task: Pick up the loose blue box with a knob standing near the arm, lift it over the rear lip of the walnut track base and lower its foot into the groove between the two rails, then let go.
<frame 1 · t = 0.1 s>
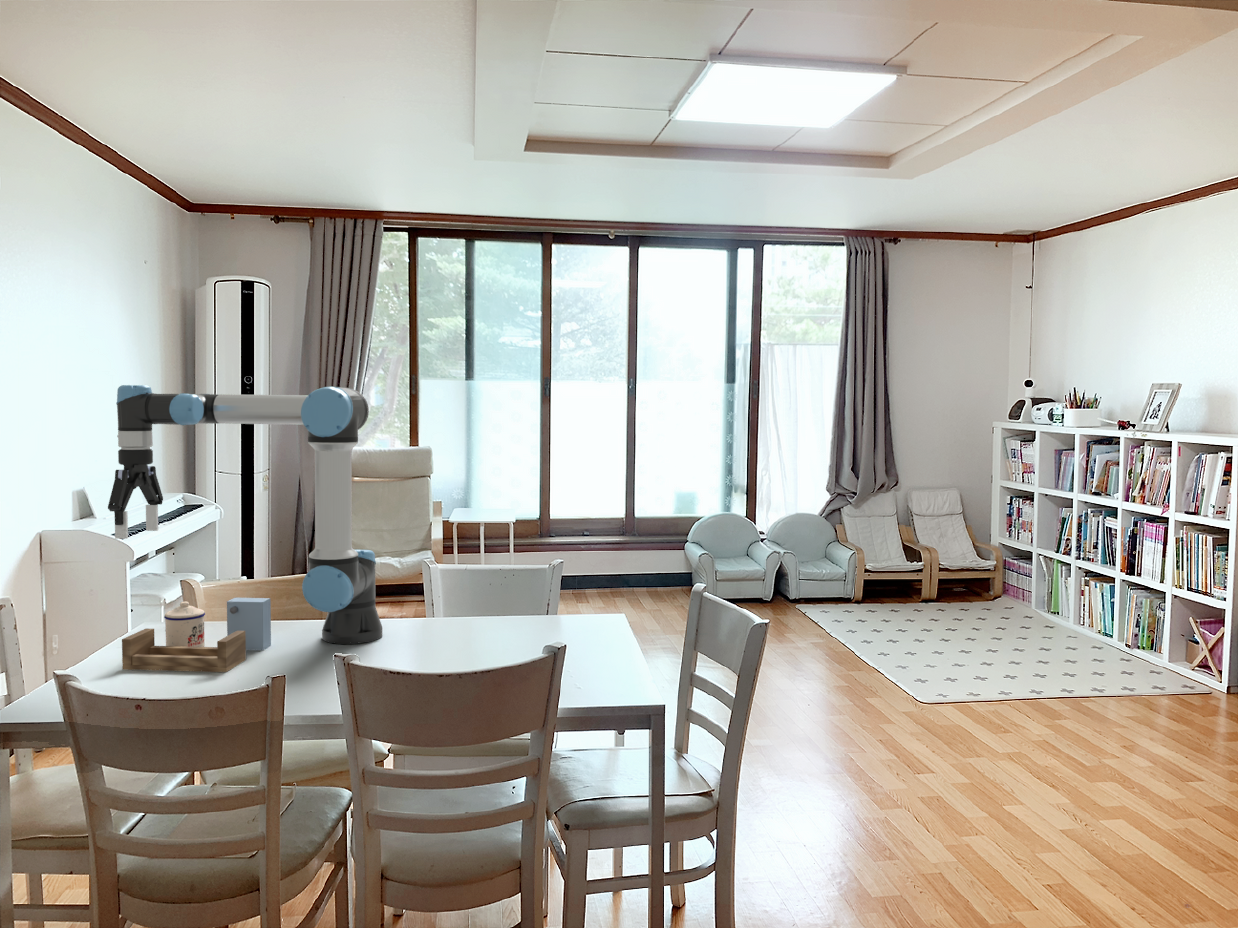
hand: (137, 534, 230), 28 cm above the table, fingers open, 13 cm apart
track: (185, 664, 216), on the table
blue box with knob: (249, 647, 232), on the table
teacup with lid: (188, 648, 231), on the table
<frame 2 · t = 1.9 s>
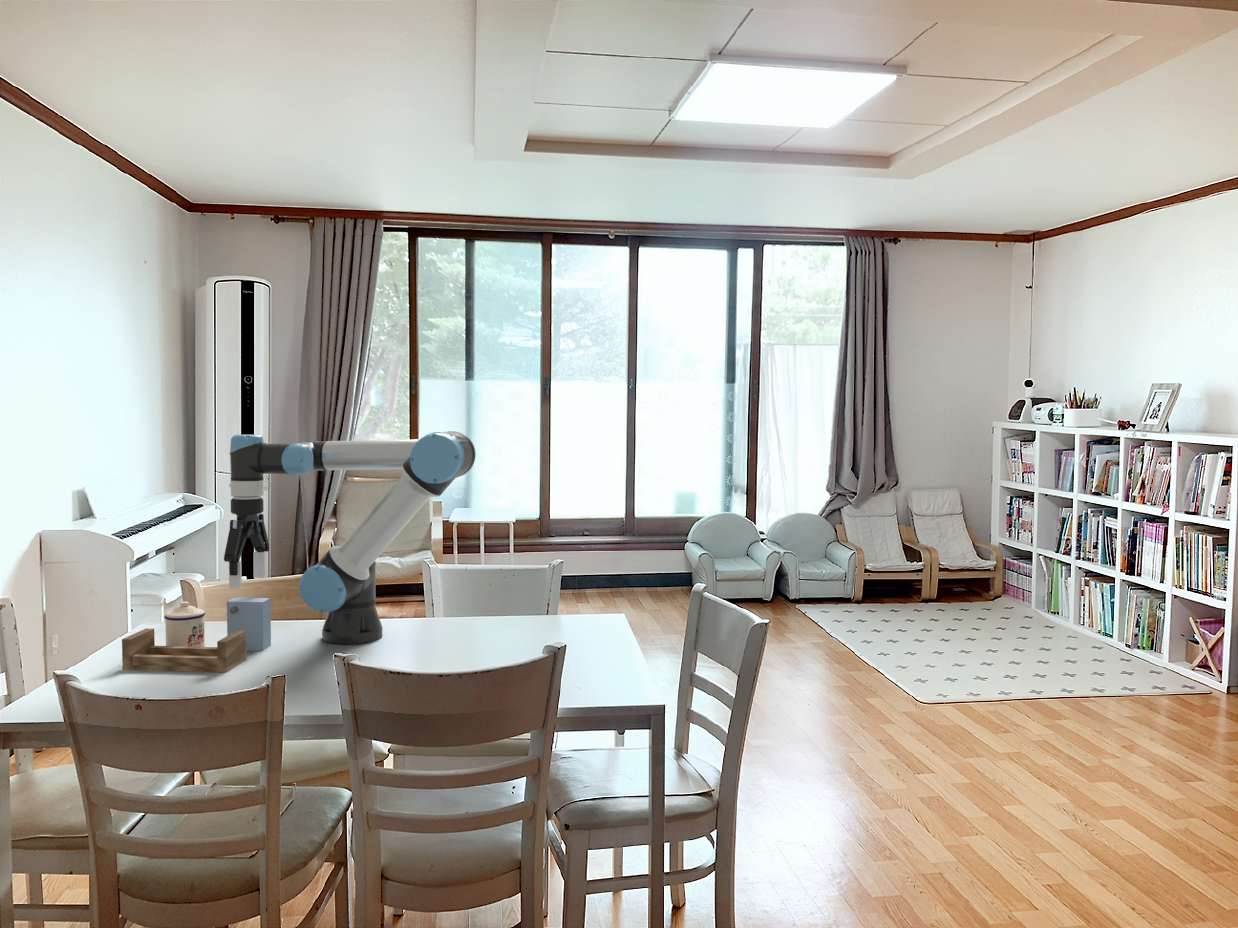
hand: (247, 582, 231), 16 cm above the table, fingers open, 13 cm apart
nothing on the table moved.
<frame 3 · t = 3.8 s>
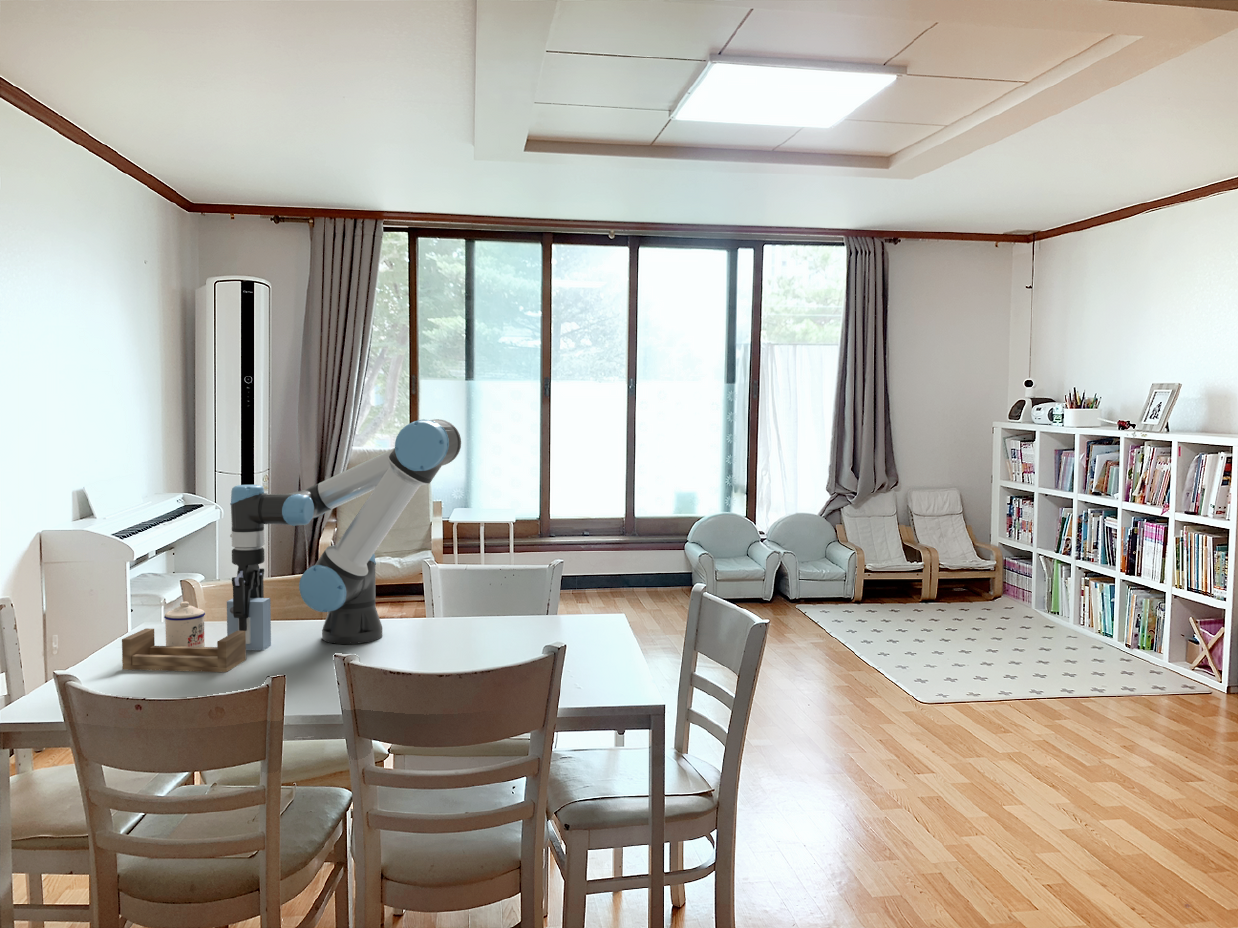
hand: (249, 640, 232), 2 cm above the table, fingers closed on blue box with knob, 4 cm apart
blue box with knob: (249, 647, 232), on the table, touching gripper
everything else where it was.
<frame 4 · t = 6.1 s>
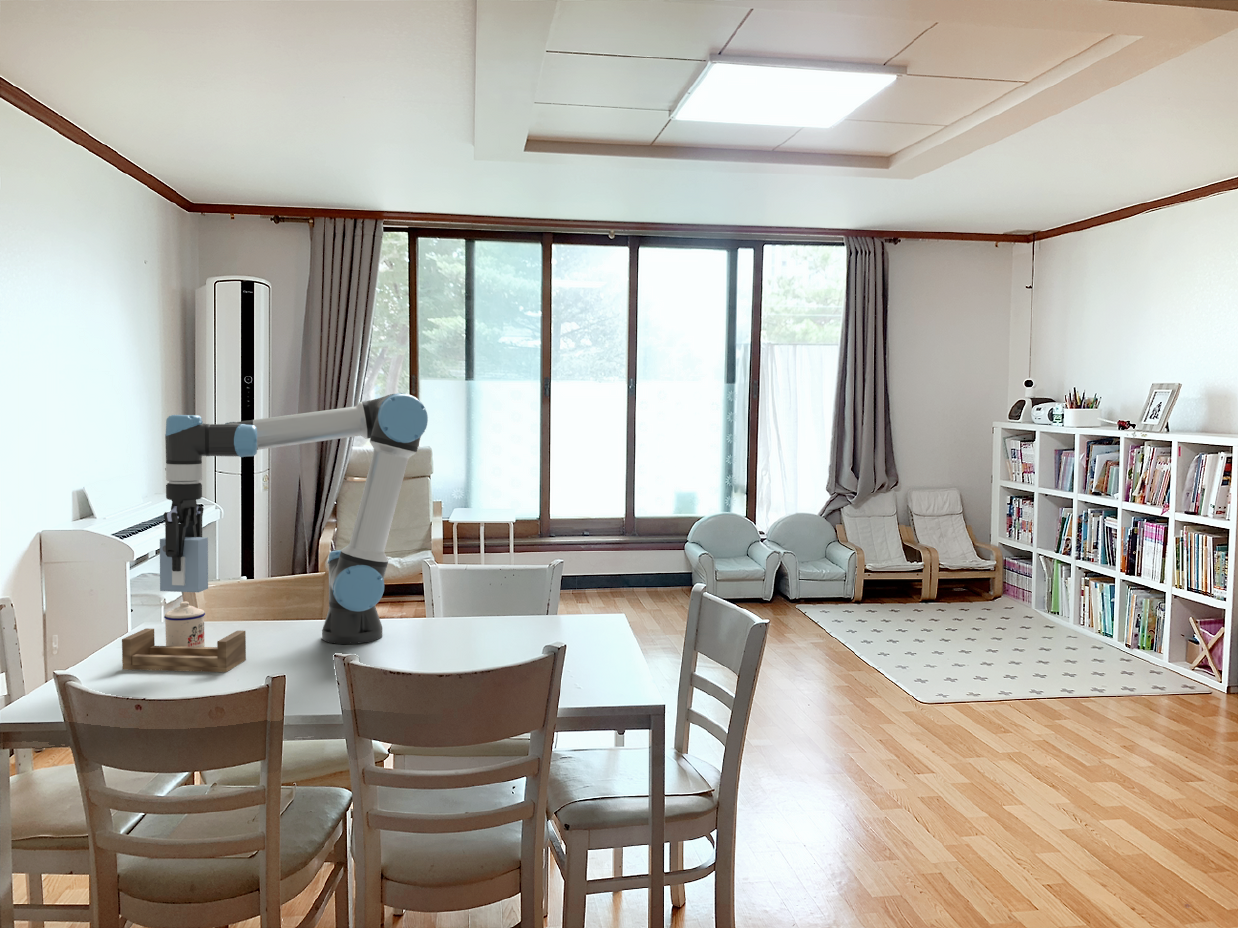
hand: (184, 582, 216), 19 cm above the table, fingers closed on blue box with knob, 4 cm apart
blue box with knob: (184, 589, 216), point 17 cm above the table, touching gripper
everything else where it was.
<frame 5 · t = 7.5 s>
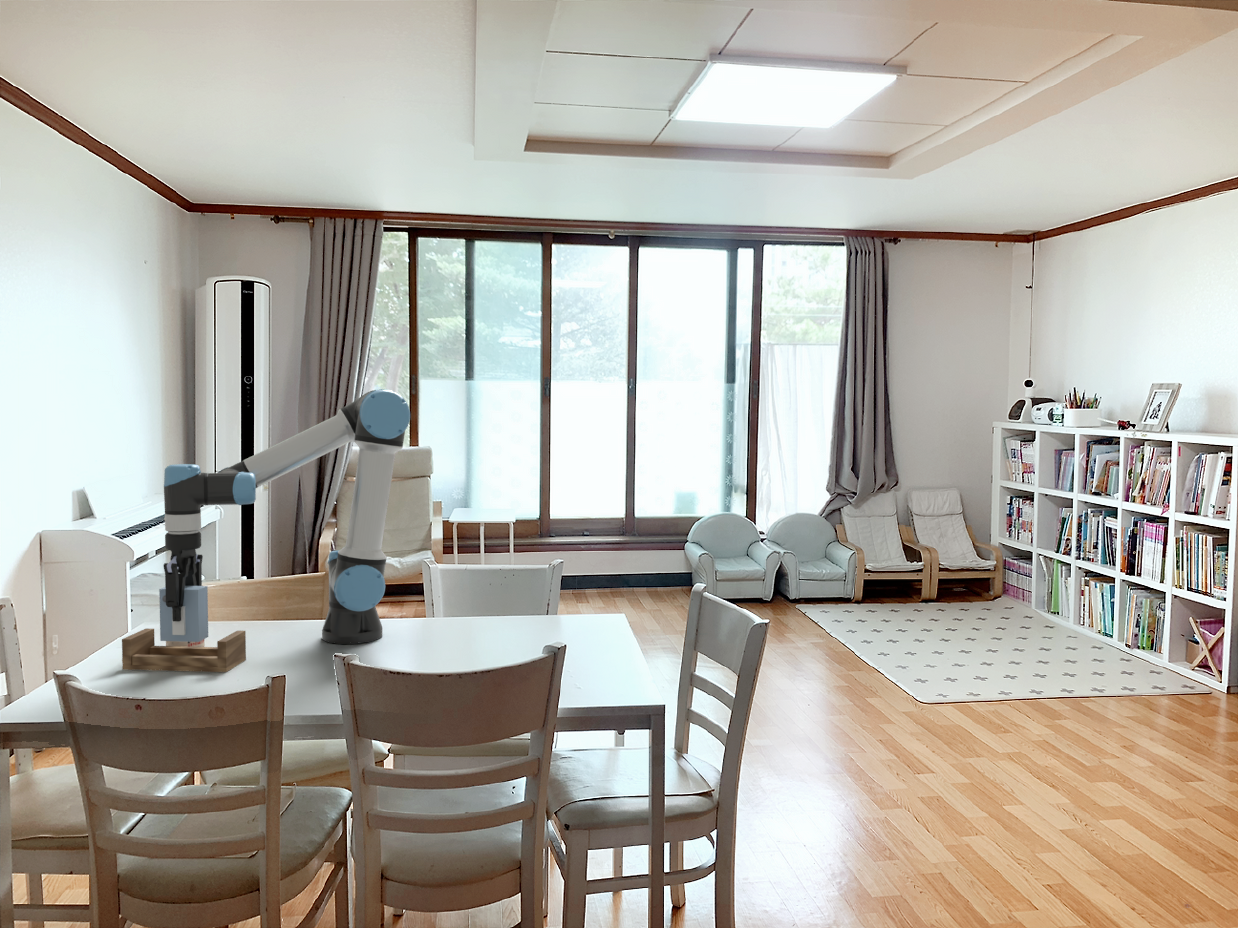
hand: (184, 631, 216), 8 cm above the table, fingers closed on blue box with knob, 4 cm apart
blue box with knob: (184, 638, 216), point 6 cm above the table, touching gripper
everything else where it was.
when the fingers open (5 cm above the table, at t = 8.4 s): blue box with knob drops 2 cm, resting on track.
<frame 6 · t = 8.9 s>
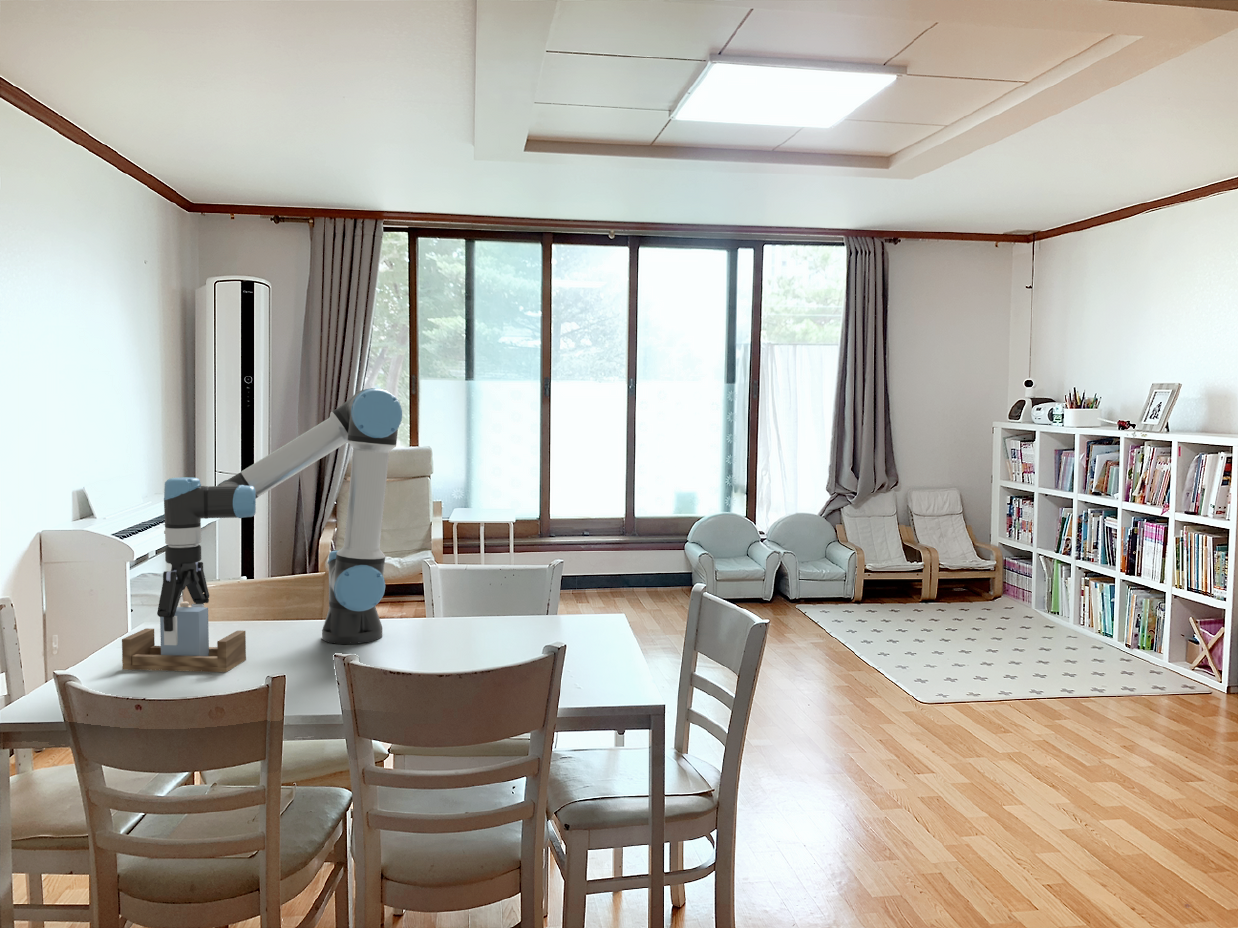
hand: (185, 637, 216), 6 cm above the table, fingers open, 12 cm apart
blue box with knob: (185, 660, 216), point 1 cm above the table, touching track
everything else where it was.
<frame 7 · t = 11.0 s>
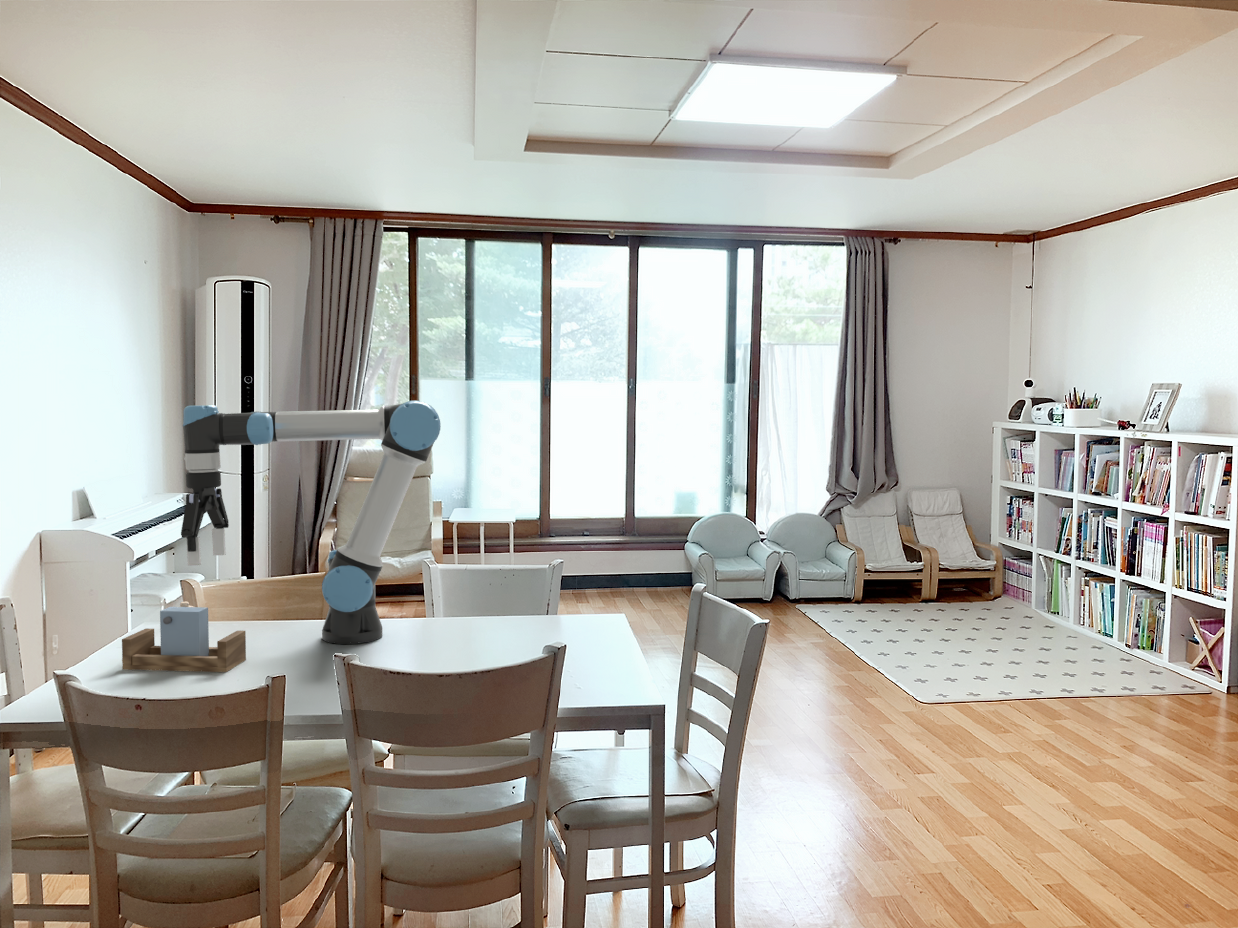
hand: (207, 560, 222), 23 cm above the table, fingers open, 13 cm apart
nothing on the table moved.
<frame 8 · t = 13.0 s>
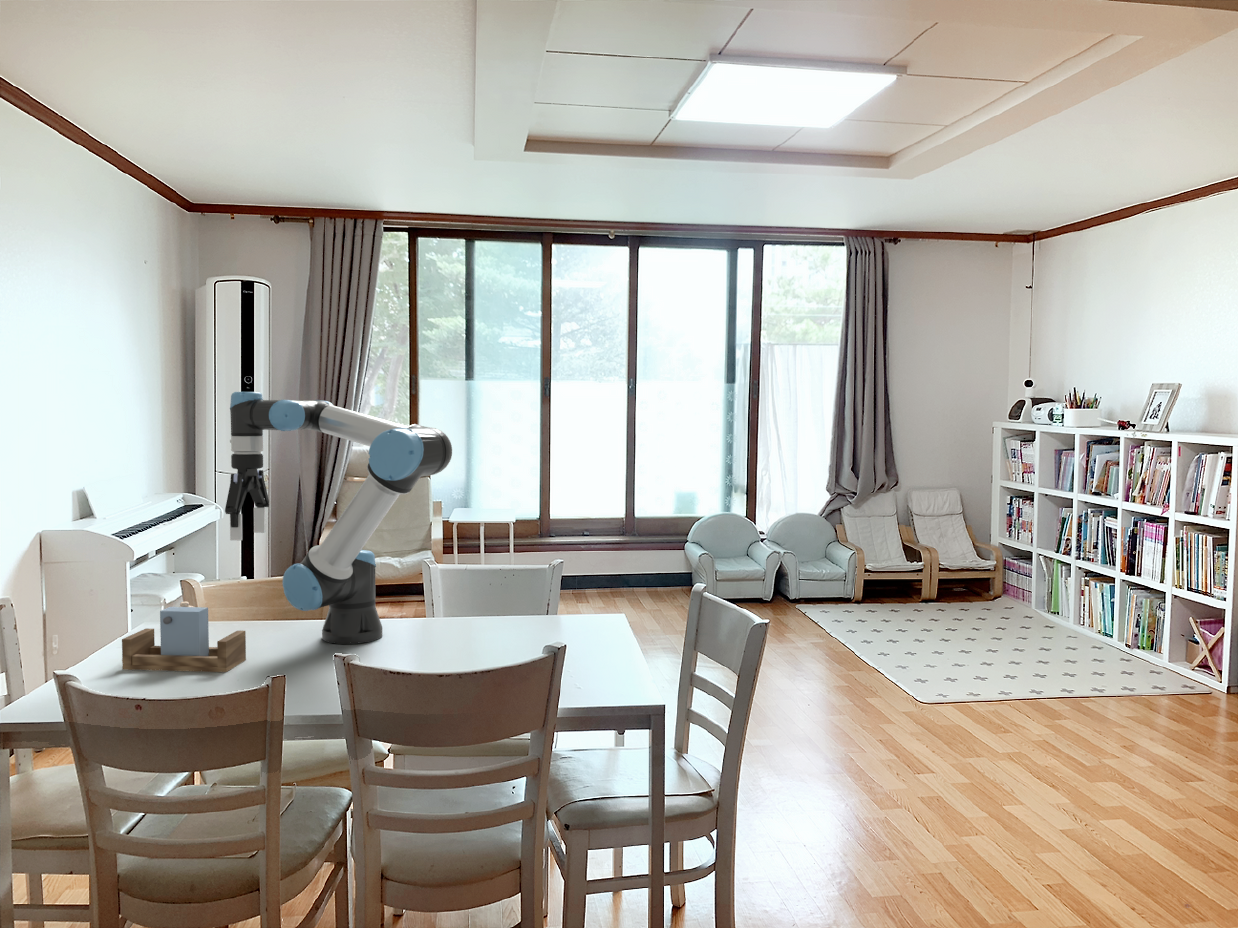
hand: (248, 536, 237), 27 cm above the table, fingers open, 13 cm apart
nothing on the table moved.
at the end: blue box with knob inside the target area on the track (0.1 cm from its centre), point 1.0 cm above the track's base; blue box with knob tilted 0°; the gripper is holding nothing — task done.
